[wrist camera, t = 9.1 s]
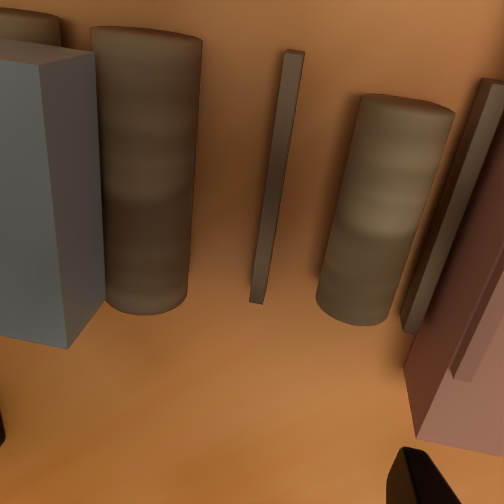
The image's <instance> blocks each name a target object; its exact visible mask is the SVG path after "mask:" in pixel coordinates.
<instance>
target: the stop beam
mask: <svg viewBox="0 0 504 504" xmlns="http://www.w3.org/2000/svg"><path fill="white" fill-rule="evenodd" d="M403 370H404V376H405V381H406V387H407V392H408V398H409V403H410V409H411V414H412V420H413V425H414V431H415V436H416V439H419V440H424V441H428V442H433V443H438V444H443V445H447V446H452V447H457V448H462V449H466V450H471V451H476V452H481V453H485V454H490V455H495V456H500V457H504V110H503V112H502V115H501V118H500V120H499V123H498V126H497V128H496V131H495V133H494V136H493V139H492V141H491V144H490V146H489V149H488V152H487V154H486V157H485V159H484V162H483V165H482V167H481V170H480V172H479V175H478V178H477V180H476V183H475V185H474V188H473V191H472V193H471V196H470V199H469V201H468V204H467V206H466V209H465V212H464V214H463V217H462V219H461V222H460V225H459V227H458V230H457V232H456V235H455V238H454V240H453V243H452V245H451V248H450V251H449V253H448V256H447V259H446V261H445V264H444V266H443V269H442V272H441V274H440V277H439V279H438V282H437V285H436V287H435V290H434V292H433V295H432V298H431V300H430V303H429V305H428V308H427V311H426V313H425V316H424V319H423V321H422V324H421V326H420V329H419V332H418V334H416V337H415V340H414V342H413V345H412V348H411V350H410V353H409V355H408V358H407V361H406V363H405V366H404V368H403Z"/></svg>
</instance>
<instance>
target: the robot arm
mask: <svg viewBox="0 0 504 504" xmlns="http://www.w3.org/2000/svg"><path fill="white" fill-rule="evenodd" d="M4 441H5V438H4V434H3V429H2V425H1V420H0V446H1V445H2V444H3V442H4ZM386 504H461V502H460V501H459V499H458V498H457V496H456V495H455V493H454V492H453V490H452V489H451V488H450V486H449V485H448V483H447V482H446V480H445V479H444V477H443V476H442V474H441V473H440V471H439V470H438V468H437V467H436V466H435V464H434V463H433V461H432V460H431V458H430V457H429V455H428V454H427V453H426V452H424V451H423V450H419V449H414V448H410V447H402V448H401V449H400V450H399V451H398V454H397V456H396V458H395V460H394V463H393V465H392V467H391V469H390V472H389V474H388V477H387V484H386Z"/></svg>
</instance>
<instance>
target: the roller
mask: <svg viewBox="0 0 504 504" xmlns="http://www.w3.org/2000/svg"><path fill="white" fill-rule="evenodd" d="M454 117H455V112H453V111H452V110H450V109H448V108H446V107H443V106H440V105H437V104H434V103H431V102H427V101H423V100H416V99H410V98H403V97H397V96H391V95H384V94H367V95H363V96H362V99H361V103H360V107H359V112H358V116H357V120H356V124H355V129H354V133H353V137H352V142H351V146H350V150H349V155H348V159H347V163H346V167H345V172H344V176H343V180H342V185H341V189H340V193H339V197H338V202H337V206H336V210H335V215H334V219H333V223H332V228H331V232H330V236H329V240H328V245H327V249H326V253H325V258H324V262H323V266H322V271H321V275H320V279H319V283H318V288H317V292H316V301H317V303H318V305H319V307H320V308H321V309H322V310H323V311H324V312H325V313H327V314H328V315H329V316H331V317H333V318H334V319H336V320H339V321H341V322H344V323H347V324H351V325H356V326H373V325H377V324H379V323H381V322H383V321H384V320H385V319H386V318H387V316H388V314H389V311H390V308H391V305H392V302H393V299H394V296H395V293H396V290H397V287H398V284H399V281H400V278H401V275H402V272H403V269H404V266H405V263H406V260H407V257H408V254H409V251H410V248H411V245H412V242H413V239H414V236H415V233H416V230H417V227H418V224H419V221H420V218H421V216H422V213H423V210H424V207H425V204H426V201H427V198H428V195H429V192H430V189H431V186H432V183H433V180H434V177H435V174H436V171H437V168H438V165H439V162H440V159H441V156H442V153H443V150H444V147H445V144H446V141H447V138H448V135H449V132H450V129H451V126H452V123H453V120H454Z"/></svg>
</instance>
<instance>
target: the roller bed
mask: <svg viewBox="0 0 504 504" xmlns="http://www.w3.org/2000/svg"><path fill="white" fill-rule="evenodd" d="M90 33H91V52H95V71H96V93H97V115H98V137H99V159H100V180H101V202H102V224H103V246H104V268H105V290H106V299H105V300H106V301H107V303H108V304H109V305H111V306H112V307H113V308H115V309H117V310H119V311H121V312H124V313H128V314H133V315H156V314H161V313H165V312H167V311H170V310H172V309H174V308H176V307H177V306H179V305H180V304H181V303H182V302H183V301H184V300H185V298H186V296H187V289H188V272H189V256H190V239H191V223H192V207H193V190H194V174H195V157H196V141H197V125H198V108H199V92H200V75H201V59H202V42H203V41H202V40H201V39H199V38H196V37H193V36H189V35H185V34H180V33H175V32H169V31H162V30H154V29H146V28H135V27H121V26H98V27H92V28H90ZM0 38H5V39H12V40H18V41H25V42H31V43H38V44H44V45H51V46H57V47H61V37H60V24H59V17H57V16H54V15H50V14H45V13H40V12H34V11H27V10H19V9H11V8H0ZM304 56H305V52H304V51H297V50H290V49H288V50H287V51H286V52H285V54H284V61H283V68H282V75H281V82H280V89H279V96H278V103H277V110H276V117H275V124H274V131H273V138H272V145H271V152H270V159H269V166H268V173H267V180H266V187H265V193H264V200H263V207H262V214H261V221H260V228H259V235H258V242H257V249H256V256H255V263H254V270H253V277H252V284H251V291H250V298H249V302H252V303H257V304H262V305H263V301H264V297H265V292H266V288H267V282H268V275H269V269H270V263H271V257H272V251H273V245H274V239H275V233H276V227H277V220H278V214H279V208H280V202H281V196H282V190H283V184H284V178H285V172H286V165H287V159H288V153H289V147H290V141H291V135H292V129H293V123H294V117H295V111H296V104H297V98H298V92H299V86H300V80H301V74H302V68H303V62H304ZM503 110H504V82H502V81H499V80H492V79H485V78H482V80H481V83H480V86H479V89H478V92H477V94H476V97H475V100H474V103H473V106H472V109H471V112H470V114H469V117H468V120H467V123H466V126H465V129H464V132H463V134H462V137H461V140H460V143H459V146H458V149H457V152H456V155H455V157H454V160H453V163H452V166H451V169H450V172H449V175H448V177H447V180H446V183H445V186H444V189H443V192H442V195H441V197H440V200H439V203H438V206H437V209H436V212H435V215H434V218H433V220H432V223H431V226H430V229H429V232H428V235H427V238H426V240H425V243H424V246H423V249H422V252H421V255H420V258H419V260H418V263H417V266H416V269H415V272H414V275H413V278H412V281H411V283H410V286H409V289H408V292H407V295H406V298H405V301H404V303H403V306H402V309H401V312H400V319H401V324H402V329H403V332H408V333H413V334H418V332H419V329H420V326H421V324H422V321H423V319H424V316H425V313H426V311H427V308H428V305H429V303H430V300H431V298H432V295H433V292H434V290H435V287H436V285H437V282H438V279H439V277H440V274H441V272H442V269H443V266H444V264H445V261H446V259H447V256H448V253H449V251H450V248H451V245H452V243H453V240H454V238H455V235H456V232H457V230H458V227H459V225H460V222H461V219H462V217H463V214H464V212H465V209H466V206H467V204H468V201H469V199H470V196H471V193H472V191H473V188H474V185H475V183H476V180H477V178H478V175H479V172H480V170H481V167H482V165H483V162H484V159H485V157H486V154H487V152H488V149H489V146H490V144H491V141H492V139H493V136H494V133H495V131H496V128H497V126H498V123H499V120H500V118H501V115H502V112H503Z"/></svg>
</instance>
